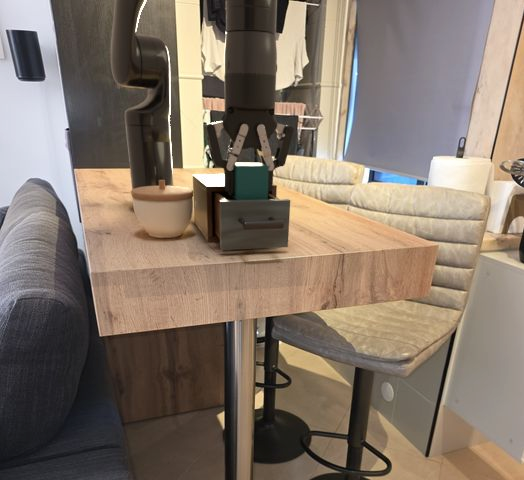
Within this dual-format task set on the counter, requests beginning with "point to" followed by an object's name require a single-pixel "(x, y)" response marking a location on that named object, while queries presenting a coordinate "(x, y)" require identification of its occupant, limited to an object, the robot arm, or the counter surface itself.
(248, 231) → the drawer
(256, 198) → the block
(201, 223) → the cabinet
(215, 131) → the robot arm
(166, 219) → the trinket box
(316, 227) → the counter surface
